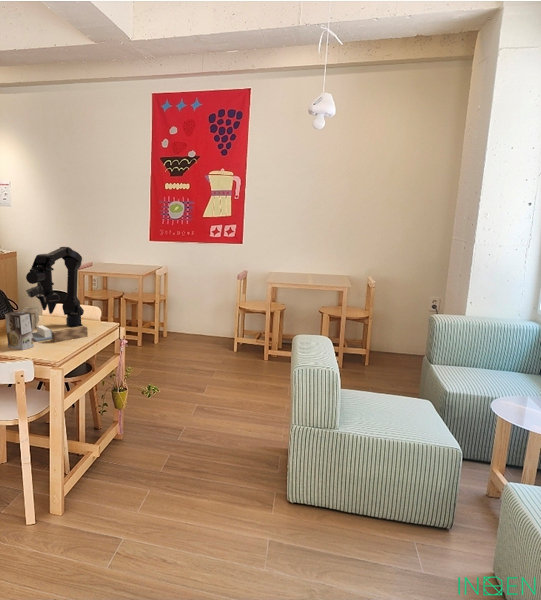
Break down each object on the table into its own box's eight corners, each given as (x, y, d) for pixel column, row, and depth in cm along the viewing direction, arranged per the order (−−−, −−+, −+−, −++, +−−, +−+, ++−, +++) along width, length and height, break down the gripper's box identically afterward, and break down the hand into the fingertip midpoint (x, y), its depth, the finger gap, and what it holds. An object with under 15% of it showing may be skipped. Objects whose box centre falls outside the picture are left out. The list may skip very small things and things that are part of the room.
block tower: (32, 335, 224) (40, 320, 250) (30, 320, 222) (39, 305, 248) (14, 336, 221) (24, 320, 248) (13, 320, 219) (23, 306, 246)
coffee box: (34, 346, 204) (32, 312, 201) (22, 350, 198) (20, 315, 195) (19, 343, 207) (16, 310, 204) (7, 347, 201) (4, 313, 198)
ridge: (50, 331, 229) (50, 323, 228) (61, 337, 219) (61, 328, 219) (25, 335, 220) (25, 326, 219) (36, 341, 211) (35, 332, 210)
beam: (84, 335, 225) (84, 326, 224) (87, 337, 222) (87, 327, 221) (52, 341, 213) (51, 331, 212) (55, 343, 211) (54, 333, 210)
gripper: (21, 279, 214) (23, 310, 217) (33, 284, 201) (36, 318, 204) (45, 277, 222) (47, 307, 225) (59, 282, 209) (61, 314, 212)
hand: (47, 311), depth 216 cm, fingers open, 9 cm apart
